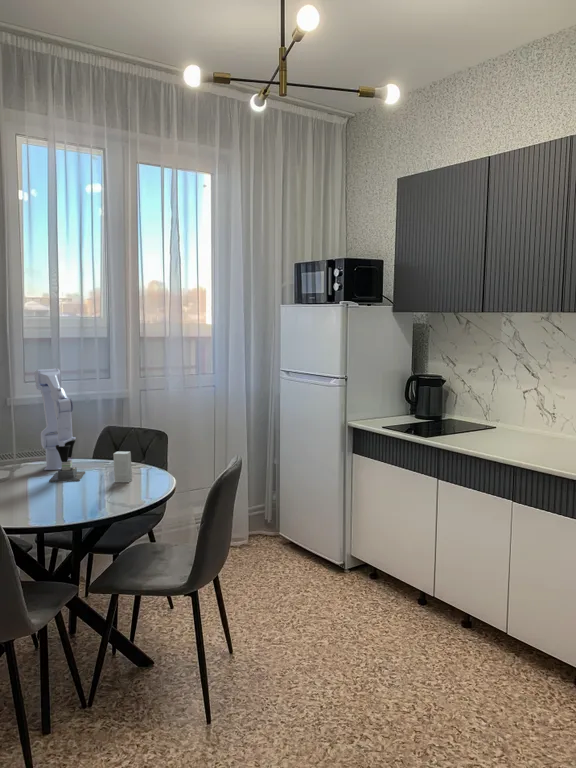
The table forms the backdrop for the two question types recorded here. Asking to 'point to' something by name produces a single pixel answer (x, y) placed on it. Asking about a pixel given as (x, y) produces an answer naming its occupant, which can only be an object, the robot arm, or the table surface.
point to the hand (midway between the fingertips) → (66, 459)
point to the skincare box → (122, 466)
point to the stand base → (67, 475)
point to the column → (67, 465)
